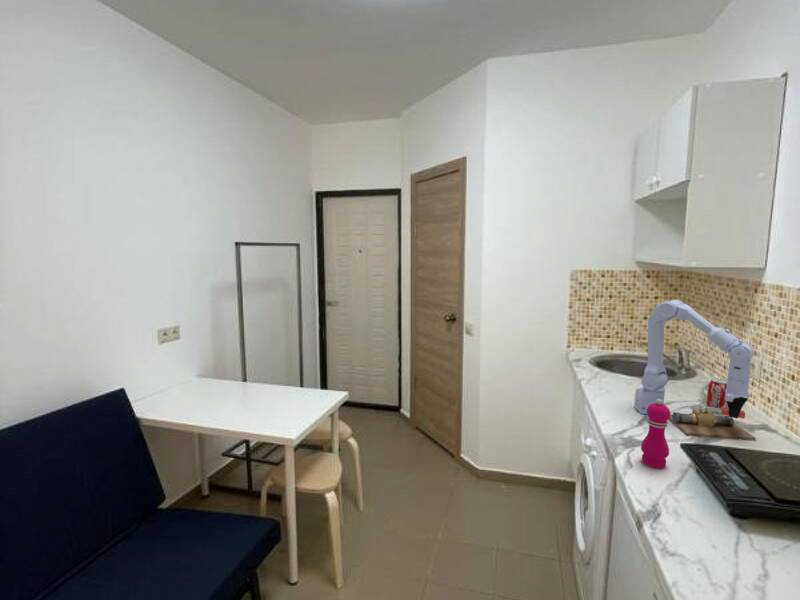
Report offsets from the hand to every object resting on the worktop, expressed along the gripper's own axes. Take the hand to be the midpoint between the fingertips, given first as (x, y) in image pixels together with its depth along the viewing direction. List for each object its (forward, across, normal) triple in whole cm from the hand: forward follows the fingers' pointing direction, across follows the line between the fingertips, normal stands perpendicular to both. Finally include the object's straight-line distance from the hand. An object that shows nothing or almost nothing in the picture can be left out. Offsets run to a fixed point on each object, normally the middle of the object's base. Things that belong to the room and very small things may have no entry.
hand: (733, 417), depth 148 cm
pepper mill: (+6, -43, +6) cm, 44 cm away
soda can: (+6, +22, +12) cm, 25 cm away
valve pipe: (+6, -1, +9) cm, 11 cm away
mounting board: (+6, -1, +7) cm, 9 cm away
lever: (0, +1, +4) cm, 4 cm away
